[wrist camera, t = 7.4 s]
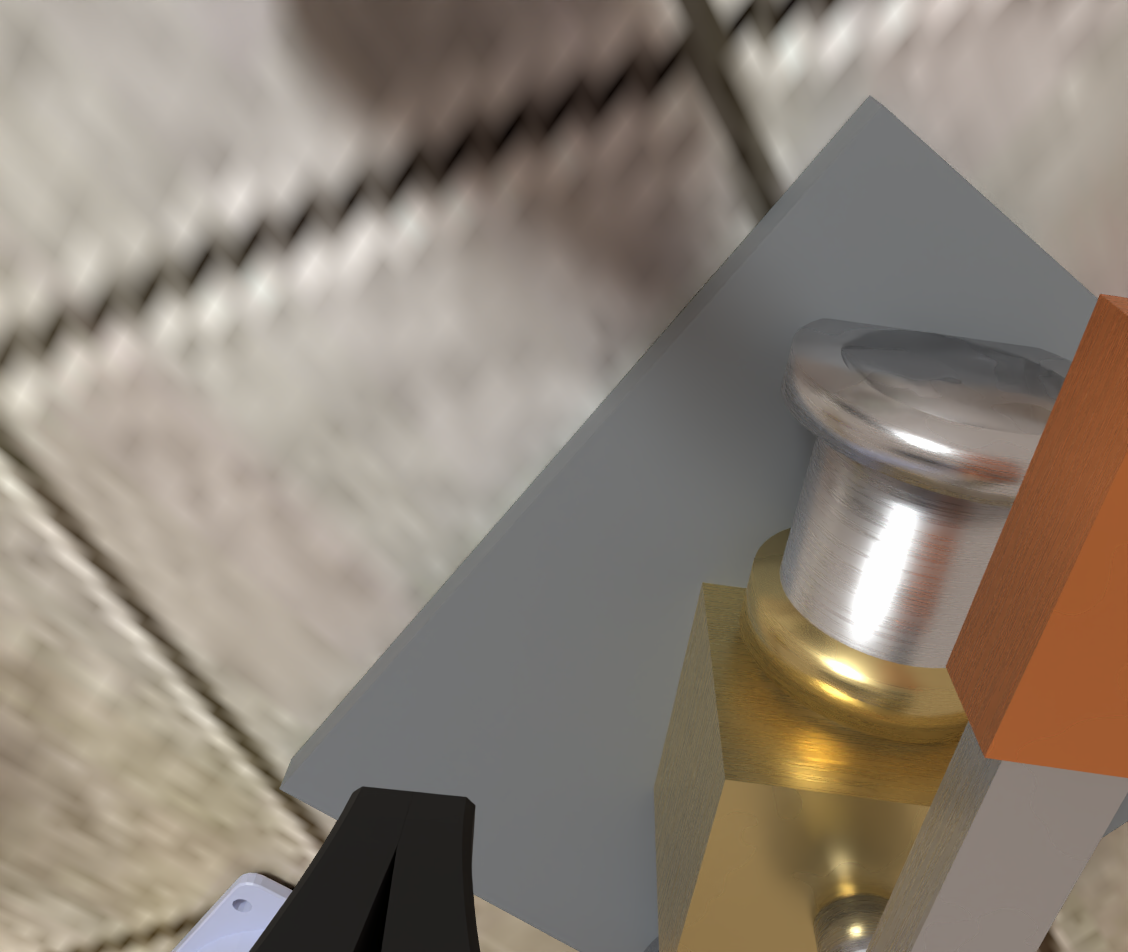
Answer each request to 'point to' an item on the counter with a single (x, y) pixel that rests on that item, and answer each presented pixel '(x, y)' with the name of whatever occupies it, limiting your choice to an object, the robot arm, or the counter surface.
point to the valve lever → (1036, 686)
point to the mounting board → (663, 536)
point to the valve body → (842, 643)
